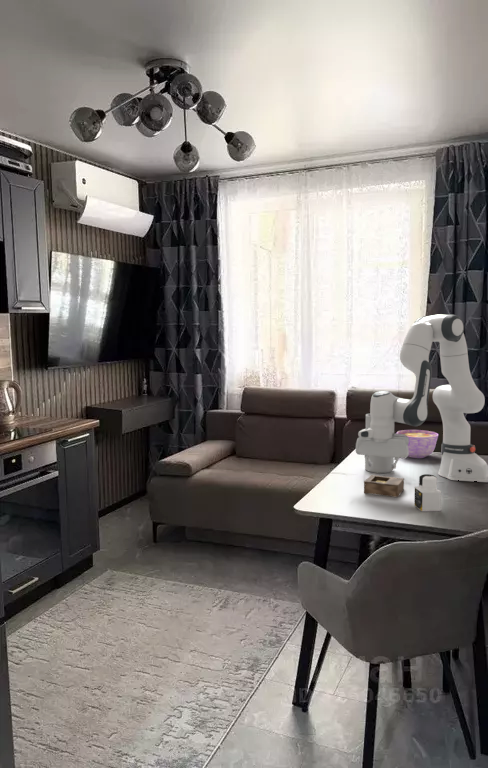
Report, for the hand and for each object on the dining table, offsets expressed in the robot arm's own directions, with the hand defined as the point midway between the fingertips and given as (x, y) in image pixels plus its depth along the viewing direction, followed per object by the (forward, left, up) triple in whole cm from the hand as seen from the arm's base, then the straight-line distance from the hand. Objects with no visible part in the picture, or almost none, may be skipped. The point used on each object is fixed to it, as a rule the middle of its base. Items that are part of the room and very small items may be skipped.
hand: (381, 467), depth 229 cm
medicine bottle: (-20, +15, -10) cm, 27 cm away
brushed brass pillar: (0, 0, -10) cm, 10 cm away
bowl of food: (-1, -67, -10) cm, 68 cm away
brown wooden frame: (-1, 0, -10) cm, 10 cm away
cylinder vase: (+9, -32, -10) cm, 35 cm away
